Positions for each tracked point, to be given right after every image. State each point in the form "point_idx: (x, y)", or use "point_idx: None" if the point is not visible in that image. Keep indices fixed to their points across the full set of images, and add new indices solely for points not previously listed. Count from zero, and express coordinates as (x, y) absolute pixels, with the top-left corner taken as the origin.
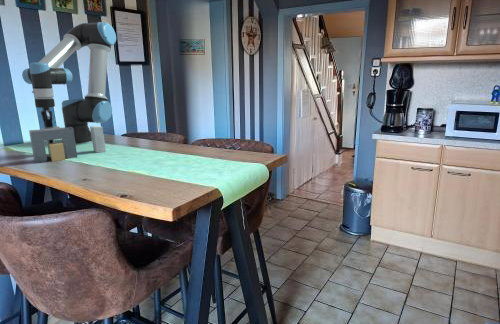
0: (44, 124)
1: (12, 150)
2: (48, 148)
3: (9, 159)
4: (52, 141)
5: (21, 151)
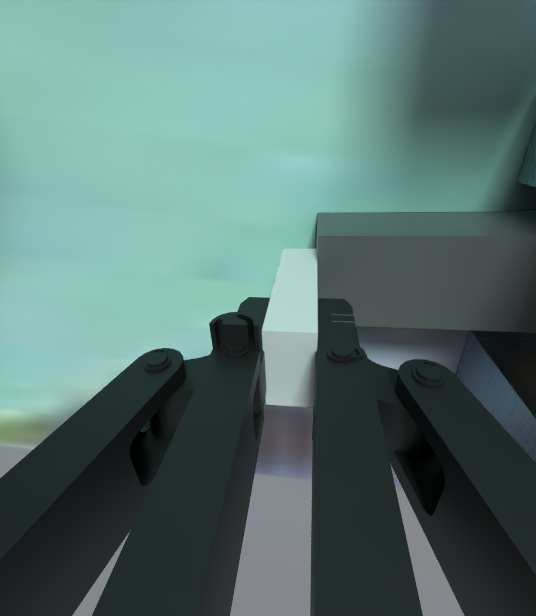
0: (81, 594)
1: (35, 425)
2: (376, 325)
3: (305, 464)
4: (352, 314)
5: (85, 400)
